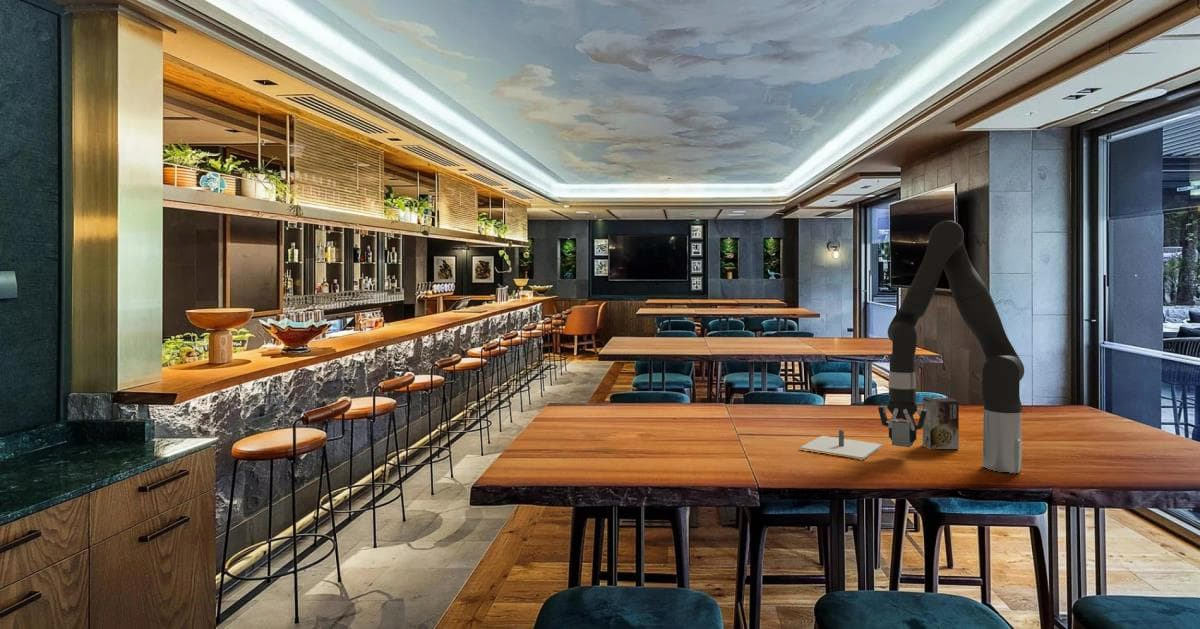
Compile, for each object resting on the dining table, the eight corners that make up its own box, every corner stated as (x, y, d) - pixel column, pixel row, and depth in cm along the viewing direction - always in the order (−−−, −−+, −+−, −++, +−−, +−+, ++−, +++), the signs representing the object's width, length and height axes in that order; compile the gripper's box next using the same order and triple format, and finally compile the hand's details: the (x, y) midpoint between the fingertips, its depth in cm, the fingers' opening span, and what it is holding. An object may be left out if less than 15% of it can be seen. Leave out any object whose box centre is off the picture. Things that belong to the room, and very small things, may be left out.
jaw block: (913, 444, 196) (913, 421, 196) (909, 447, 192) (909, 424, 192) (895, 441, 199) (895, 419, 199) (891, 445, 195) (891, 422, 195)
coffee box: (950, 445, 210) (951, 397, 210) (959, 450, 204) (960, 400, 203) (921, 445, 211) (922, 397, 211) (929, 450, 205) (930, 400, 204)
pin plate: (882, 447, 209) (882, 428, 208) (863, 460, 193) (863, 440, 193) (821, 438, 221) (822, 420, 221) (799, 450, 206) (799, 431, 206)
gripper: (930, 386, 194) (930, 441, 194) (880, 383, 202) (881, 435, 203) (925, 389, 188) (925, 446, 188) (874, 386, 197) (874, 440, 197)
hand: (902, 440), depth 196 cm, fingers closed on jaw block, 5 cm apart
